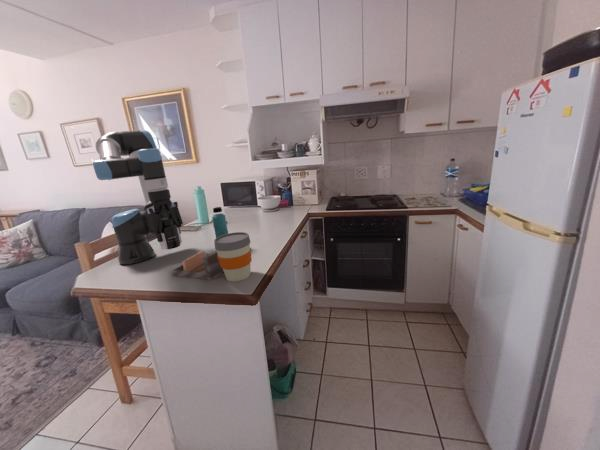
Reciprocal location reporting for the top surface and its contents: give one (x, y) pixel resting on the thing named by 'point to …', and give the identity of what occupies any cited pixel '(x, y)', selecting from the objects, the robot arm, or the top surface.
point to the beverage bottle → (219, 222)
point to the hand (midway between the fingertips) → (171, 245)
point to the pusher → (193, 261)
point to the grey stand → (202, 269)
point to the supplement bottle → (170, 233)
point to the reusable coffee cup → (234, 255)
